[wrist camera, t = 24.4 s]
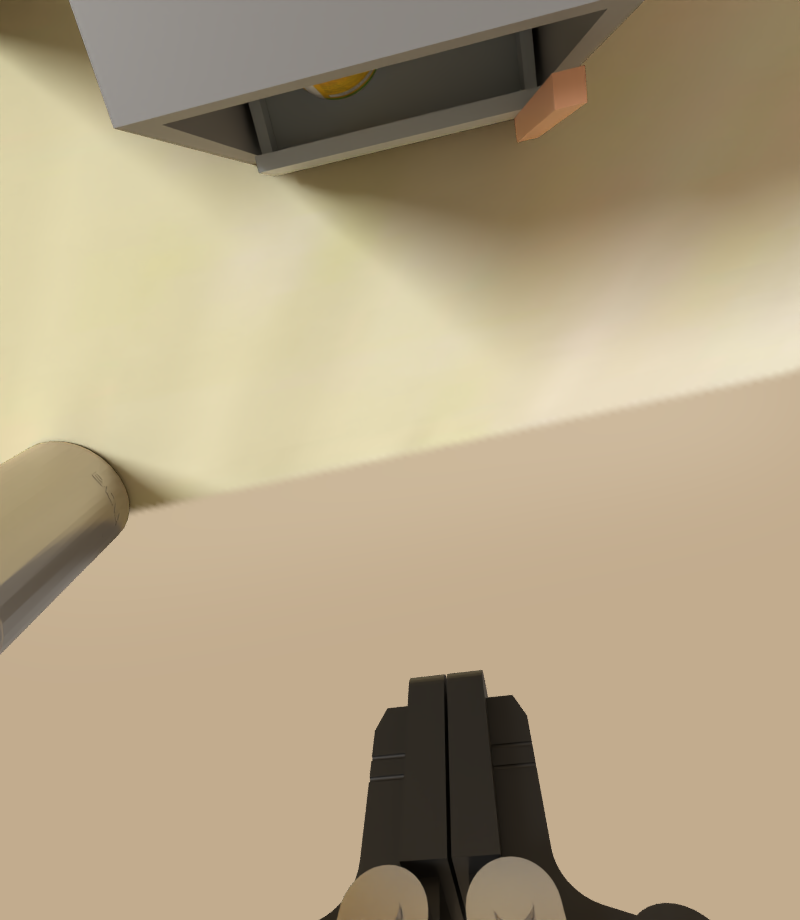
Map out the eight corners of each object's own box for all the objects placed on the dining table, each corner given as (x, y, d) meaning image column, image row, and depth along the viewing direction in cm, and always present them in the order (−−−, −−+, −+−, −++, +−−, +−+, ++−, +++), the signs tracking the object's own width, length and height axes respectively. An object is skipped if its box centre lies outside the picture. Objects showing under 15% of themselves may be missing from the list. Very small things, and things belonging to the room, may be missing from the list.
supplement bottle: (399, 2, 29) (382, -92, 20) (366, 118, 31) (338, 79, 22) (297, -41, 28) (234, -157, 19) (271, 80, 30) (204, 26, 22)
